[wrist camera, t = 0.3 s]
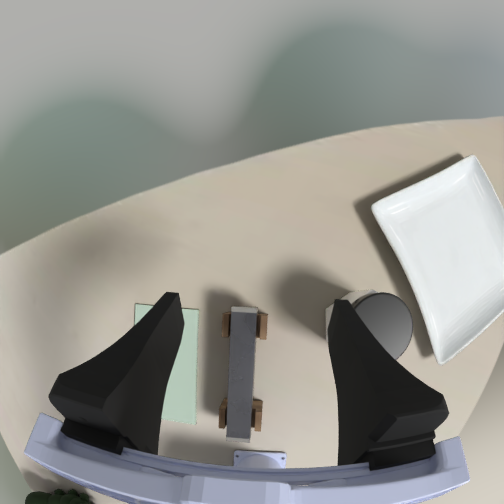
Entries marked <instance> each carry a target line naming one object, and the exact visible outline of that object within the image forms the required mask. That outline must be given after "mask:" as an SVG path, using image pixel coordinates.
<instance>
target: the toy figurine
mask: <svg viewBox="0 0 504 504" xmlns="http://www.w3.org/2000/svg"><path fill="white" fill-rule="evenodd" d="M54 493H55V494H54V495H52V494H50V493H44V492H32V493H30V494H29V495H28V496H27V497H26V500H25V504H91V503H89V502H87V501H89V497H88V495H87V494H85V493H81V494H80V497H78V494H77V492H76V491H75V490H73V489H72V490H69V492H68V493H69V494H66V495H65V493H64V491H62V490H60V489H57V490H55V492H54Z"/></svg>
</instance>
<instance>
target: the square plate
mask: <svg viewBox="0 0 504 504" xmlns="http://www.w3.org/2000/svg"><path fill="white" fill-rule="evenodd" d="M371 210H372V212H373V215H374V217H375V219H376V221H377V222H378V224H379V226H380V228H381V230H382V231H383V233H384V235H385V237H386V238H387V240H388V242H389V244H390V246H391V247H392V249H393V251H394V253H395V255H396V256H397V258H398V260H399V262H400V264H401V266H402V268H403V270H404V272H405V274H406V276H407V278H408V281H409V283H410V285H411V287H412V289H413V292H414V294H415V297H416V299H417V302H418V304H419V307H420V310H421V313H422V316H423V319H424V322H425V325H426V328H427V331H428V335H429V338H430V342H431V345H432V349H433V352H434V355H435V358H436V361H437V363H438V364H439V365H444V364H445V363H447V362H448V361H449V360H451V359H452V358H453V357H455V356H456V355H457V354H458V353H459V352H461V351H462V350H463V349H464V348H465V347H466V346H468V345H469V344H470V343H471V342H472V341H473V340H474V339H475V338H477V337H478V336H479V335H480V334H481V333H482V332H483V331H484V330H485V329H486V328H487V327H489V326H490V325H491V324H492V323H493V322H494V321H495V320H496V319H497V318H498V317H499V316H500V315H501V314H502V313H503V312H504V209H503V207H502V204H501V202H500V200H499V198H498V196H497V194H496V192H495V190H494V188H493V186H492V184H491V182H490V180H489V178H488V176H487V175H486V173H485V171H484V169H483V167H482V166H481V164H480V162H479V161H478V159H477V158H476V156H475V155H469V156H467V157H465V158H463V159H461V160H460V161H458V162H456V163H455V164H453V165H451V166H449V167H447V168H445V169H444V170H442V171H440V172H438V173H436V174H434V175H432V176H430V177H428V178H426V179H424V180H421V181H419V182H417V183H415V184H413V185H410V186H408V187H406V188H404V189H401V190H399V191H397V192H395V193H393V194H391V195H389V196H386V197H384V198H382V199H380V200H378V201H376V202H375V203H373V204H372V205H371Z"/></svg>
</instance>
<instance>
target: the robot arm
mask: <svg viewBox="0 0 504 504" xmlns="http://www.w3.org/2000/svg"><path fill="white" fill-rule="evenodd" d="M184 325H185V322H184V317H183V313H182V308H181V302H180V297H179V293H173V292H166V293H165V294H164V295H163V296H162V297H161V298H160V299H159V300H158V301H157V303H156V304H155V305H154V306H153V307H152V308H151V309H150V310H149V311H148V312H147V313H146V314H145V315H144V316H143V318H142V319H141V320H140V321H139V322H138V323H137V324H136V325H135V326H133V327H132V328H131V329H130V330H129V331H128V332H127V333H126V334H125V335H124V336H123V337H121V338H120V339H119V340H118V341H117V342H115V343H114V344H113V345H111V346H110V347H109V348H107V349H106V350H104V351H103V352H101V353H100V354H98V355H97V356H95V357H93V358H92V359H90V360H88V361H87V362H85V363H83V364H81V365H79V366H77V367H75V368H73V369H70V370H68V371H66V372H64V373H61V374H59V376H58V378H57V379H56V381H55V383H54V385H53V387H52V390H51V392H50V394H49V400H50V402H51V403H52V404H53V406H54V407H55V408H56V409H57V410H58V411H59V412H60V413H61V414H62V415H63V416H64V417H65V420H64V423H63V422H61V421H60V420H58V419H56V418H53V417H51V416H48V415H46V414H44V413H40V415H39V417H38V419H37V421H36V424H35V426H34V428H33V431H32V433H31V436H30V438H29V440H28V443H27V445H26V448H25V451H24V453H25V454H26V455H27V456H28V457H30V458H31V459H33V460H34V461H36V462H37V463H39V464H40V465H42V466H44V467H45V468H47V469H48V470H50V471H52V472H54V473H56V474H58V475H60V476H62V477H64V478H66V479H68V480H70V481H73V482H75V483H77V484H79V485H82V486H84V487H86V488H89V489H91V490H94V491H96V492H99V493H101V494H104V495H106V496H109V497H112V498H115V499H117V500H120V501H123V502H126V503H129V504H417V503H421V502H424V501H427V500H430V499H432V498H436V497H438V496H441V495H443V494H445V493H447V492H450V491H452V490H454V489H456V488H458V487H460V486H461V485H464V484H465V483H467V482H469V481H470V477H469V472H468V468H467V464H466V459H465V455H464V451H463V447H462V444H461V440H460V437H459V436H457V437H454V438H451V439H448V440H444V441H441V442H438V443H436V444H435V445H434V443H433V439H434V438H435V432H434V430H435V429H436V428H437V427H438V426H439V425H441V424H442V423H443V422H444V421H445V419H446V418H447V417H448V414H449V411H448V408H447V404H446V401H445V399H444V396H443V394H441V393H439V392H437V391H436V390H434V389H432V388H431V387H429V386H427V385H426V384H425V383H423V382H422V381H420V380H419V379H418V378H416V377H415V376H414V375H412V374H411V373H410V372H409V371H407V370H406V369H405V368H404V367H403V366H402V365H400V364H399V363H398V362H397V361H396V360H395V359H394V358H393V357H392V356H391V355H390V354H389V353H388V352H387V351H386V350H385V349H384V347H383V346H382V345H381V344H380V343H379V342H378V340H377V339H376V338H375V337H374V335H373V334H372V333H371V331H370V330H369V329H368V328H367V326H366V325H365V323H364V322H363V321H362V319H361V318H360V316H359V315H358V314H357V312H356V311H355V309H354V308H353V306H352V305H351V303H350V302H349V301H348V300H343V299H335V302H334V306H333V310H332V314H331V318H330V322H329V326H328V329H327V332H328V345H329V353H330V358H331V363H332V368H333V373H334V379H335V384H336V390H337V399H338V421H339V447H338V466H331V467H316V468H285V465H286V456H287V455H286V453H282V452H255V451H241V450H236V451H235V452H234V466H223V465H214V464H206V463H198V462H191V461H185V460H179V459H174V458H168V457H163V456H158V443H159V433H160V424H161V417H162V411H163V404H164V399H165V394H166V389H167V385H168V381H169V378H170V374H171V371H172V368H173V365H174V362H175V359H176V356H177V353H178V350H179V347H180V344H181V340H182V335H183V330H184ZM236 455H238V456H236ZM282 457H284V459H282ZM176 476H178V477H176ZM297 485H308V486H297Z"/></svg>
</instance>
